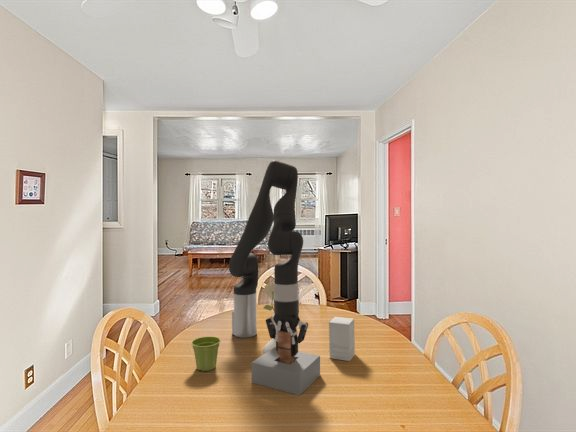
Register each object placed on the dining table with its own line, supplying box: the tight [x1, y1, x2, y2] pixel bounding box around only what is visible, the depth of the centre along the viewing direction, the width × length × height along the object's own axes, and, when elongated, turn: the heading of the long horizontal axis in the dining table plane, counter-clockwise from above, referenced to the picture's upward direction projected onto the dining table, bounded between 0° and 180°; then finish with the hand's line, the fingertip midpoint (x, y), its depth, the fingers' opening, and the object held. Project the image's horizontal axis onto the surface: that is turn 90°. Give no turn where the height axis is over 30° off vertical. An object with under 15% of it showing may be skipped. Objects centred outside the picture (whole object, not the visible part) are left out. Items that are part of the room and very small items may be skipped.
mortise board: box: [250, 347, 321, 396], centre depth 110 cm, size 16×14×6 cm
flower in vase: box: [262, 282, 277, 355], centre depth 129 cm, size 13×11×25 cm
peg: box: [277, 331, 294, 364], centre depth 110 cm, size 4×4×10 cm
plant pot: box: [190, 335, 222, 372], centre depth 119 cm, size 9×9×9 cm
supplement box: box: [328, 316, 356, 362], centre depth 127 cm, size 7×7×13 cm
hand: (286, 353), depth 110 cm, fingers closed on peg, 4 cm apart
